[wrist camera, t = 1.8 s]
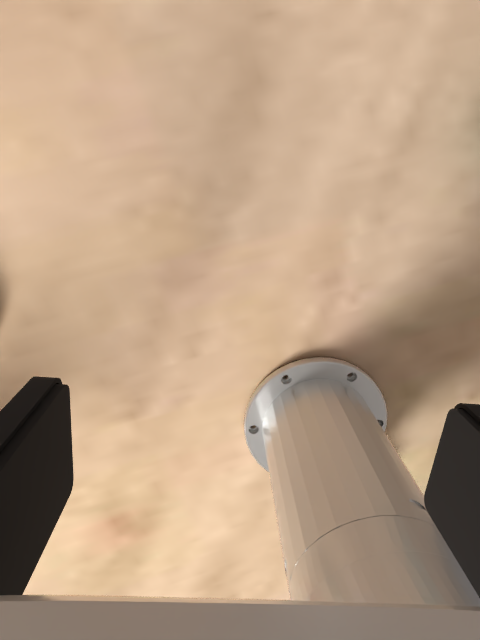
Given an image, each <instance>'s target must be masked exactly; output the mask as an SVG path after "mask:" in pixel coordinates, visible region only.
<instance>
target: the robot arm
mask: <svg viewBox="0 0 480 640" xmlns="http://www.w3.org/2000/svg"><path fill="white" fill-rule="evenodd" d="M349 373H350V374H349ZM285 375H287V376H286V377H283V376H285ZM386 426H387V408H386V402H385V400H384V398H383V395H382V393H381V391H380V389H379V388H378V386H377V385H376V383H375V382H374V381H373V380H372V379H371V378H370V376H369V375H368V374H367V373H365V372H364V371H363V370H361V369H360V368H359V367H357V366H355V365H353V364H351V363H348V362H346V361H343V360H339V359H335V358H325V357H315V358H307V359H302V360H298V361H295V362H292V363H289V364H287V365H285V366H283V367H281V368H279V369H277V370H276V371H274V372H273V373H272V374H270V375H269V376H267V377H266V378H265V379H264V380H263V381H262V382H261V383H260V385H259V386H258V387H257V388H256V389H255V391H254V393H253V394H252V396H251V397H250V399H249V402H248V405H247V407H246V411H245V417H244V431H245V437H246V443H247V446H248V448H249V450H250V452H251V454H252V456H253V457H254V458H255V460H256V461H257V463H258V464H259V465H261V466H262V467H263V468H264V469H265V470H266V471H268V472H269V475H270V481H271V487H272V493H273V499H274V505H275V511H276V517H277V523H278V529H279V535H280V541H281V547H282V553H283V559H284V565H285V571H286V577H287V582H288V588H289V593H290V599H291V600H258V599H218V598H176V597H135V596H85V595H22V594H23V592H24V590H25V588H26V586H27V584H28V582H29V580H30V578H31V575H32V573H33V571H34V569H35V567H36V565H37V563H38V561H39V559H40V557H41V555H42V553H43V550H44V548H45V546H46V544H47V542H48V540H49V538H50V536H51V534H52V532H53V530H54V527H55V525H56V523H57V521H58V519H59V517H60V515H61V513H62V511H63V509H64V507H65V504H66V502H67V500H68V498H69V496H70V494H71V491H72V486H73V457H72V435H71V412H70V391H69V386H68V385H63V384H62V382H61V380H60V379H59V378H48V377H33V378H31V379H30V380H29V381H28V383H27V384H26V385H25V386H24V387H23V388H22V389H21V390H20V391H19V392H18V393H17V394H16V395H15V396H14V397H13V398H12V400H11V401H10V402H9V403H8V404H7V405H6V406H5V407H4V408H3V409H2V410H1V411H0V640H480V405H479V404H463V403H459V404H457V405H456V406H455V408H454V409H450V411H449V412H448V414H447V418H446V421H445V425H444V428H443V432H442V435H441V439H440V442H439V446H438V449H437V453H436V456H435V460H434V463H433V467H432V470H431V474H430V477H429V481H428V484H427V488H426V491H425V495H423V493H422V492H421V490H420V488H419V487H418V485H417V484H416V482H415V480H414V479H413V477H412V476H411V474H410V472H409V471H408V469H407V468H406V466H405V464H404V463H403V461H402V459H401V458H400V456H399V455H398V453H397V451H396V450H395V448H394V447H393V445H392V443H391V442H390V440H389V439H388V437H387V435H386V434H385V430H386Z"/></svg>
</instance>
